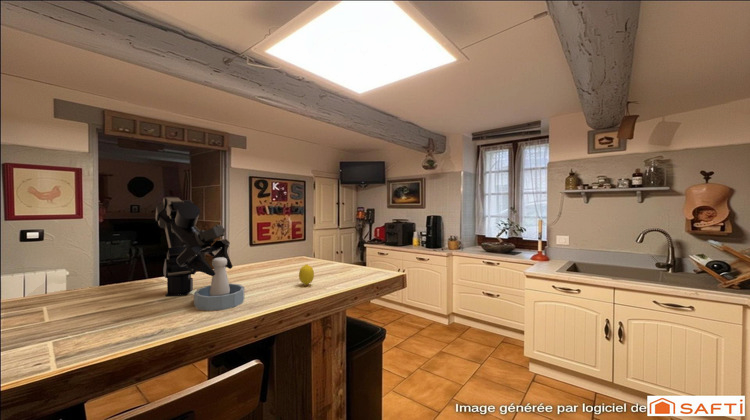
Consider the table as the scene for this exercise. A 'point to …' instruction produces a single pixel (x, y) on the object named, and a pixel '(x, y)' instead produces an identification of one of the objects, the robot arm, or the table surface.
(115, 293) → the table surface
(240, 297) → the bowl
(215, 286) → the salt shaker
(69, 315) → the table surface
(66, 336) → the table surface
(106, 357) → the table surface
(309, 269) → the lemon
